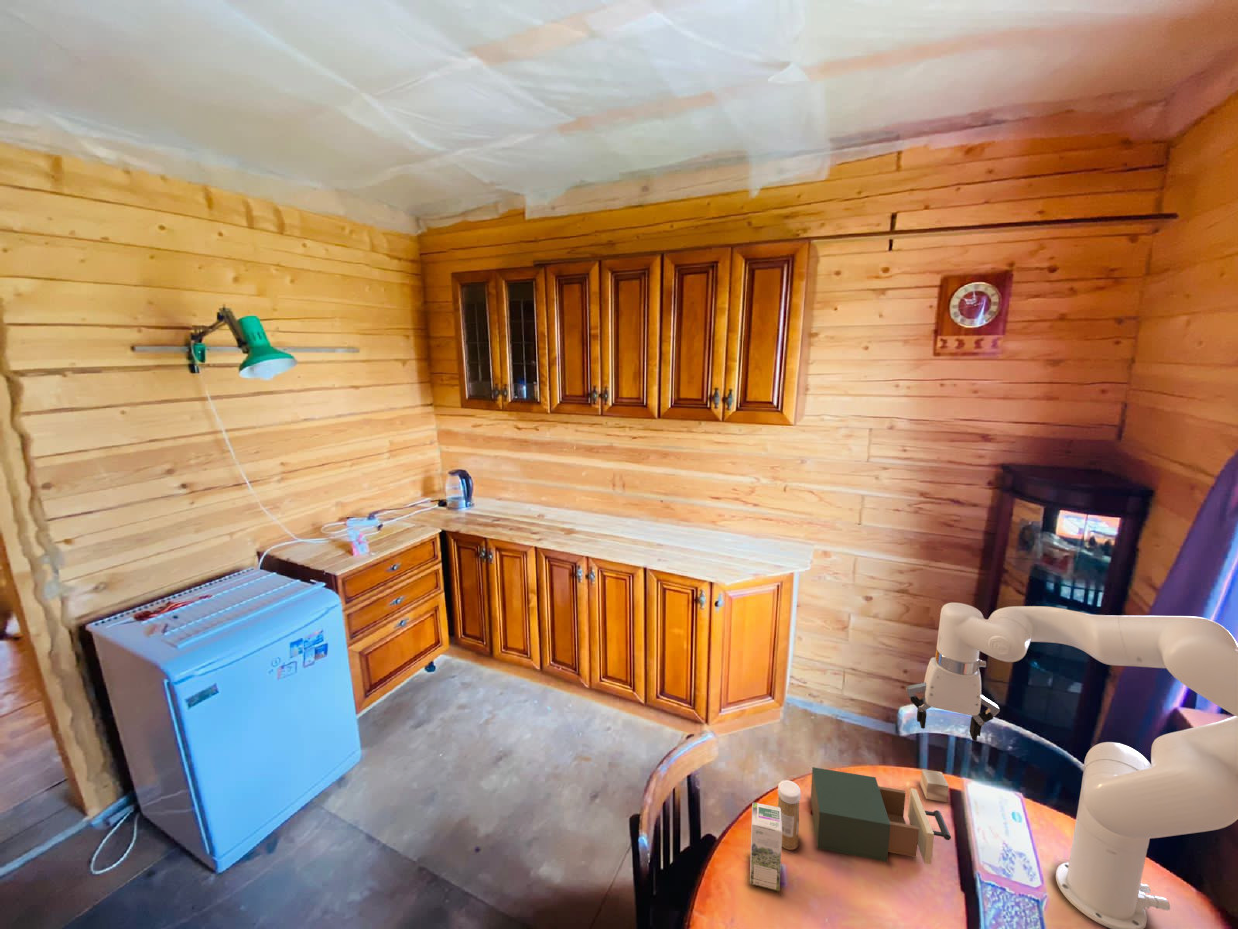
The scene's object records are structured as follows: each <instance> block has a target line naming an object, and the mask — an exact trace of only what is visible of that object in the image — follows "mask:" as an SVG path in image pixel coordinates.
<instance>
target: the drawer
mask: <svg viewBox="0 0 1238 929" xmlns="http://www.w3.org/2000/svg"><path fill="white" fill-rule="evenodd" d="M878 787H879V790H880V793H881V796H882V800H883V803H884V806H885V809H886V812H887V816H888V819H889V822H890V835H889V847H888V853H892V854H897V855H902V856H908V857H913V858H917V854H918V853H917V852H918V849H919V852H920V855H921V857H922V860H923V863H924V864H927V865H931V863H932V856H933V847H934V840H935V839H934V837H935V836H936V837H942V838H943V839H944V840H946V841H950V840H951V839H952V836H951V834H950V832H949V829H948V827H947V824H946V822H945V820H944V817H943V815H942V813H941V811H940V810H934V811H930V810H926V809H925V808H924V805H923V803H922V801H921V798H920V796H919V793H918V790H917V789H916V788H910V789H909V798H908V808H907V818H908V821H909V824H907V823H906V820H905V817H904V815H905V804H906V791H905V790H904V789H897V788H892V787H885V786H880V785H878ZM928 816H929V817H930V816H931V817H934V819H935V821H936V823H937V826H938V829H939V831H937V830H933V828H932V826H931V823H930V821H929V818H928Z"/></svg>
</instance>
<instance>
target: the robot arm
mask: <svg viewBox="0 0 1238 929" xmlns="http://www.w3.org/2000/svg"><path fill="white" fill-rule="evenodd" d="M936 642H937V643H936V649H935V657H934V656H933V657H931V658H930V659H929V662H928V665H927V668H926V671H925V676H924V680H923V682H921V683H915V684H910V685H906V686H905V692H906V693H907V695H908V698H909V699H910V702H911V703H912V704H913V705H914V706H915V707H916V709H917V710H916V721H917V722H918V723H919V726H920V728H921V730H923V729H926V724H927V710H928V709H930V708H931V707H932V708H935V709H939V710H943V711H948V712H953V713H957V714H962V715H966V716H971V718H970V724H969V734H970V738H971V740H972V741H973V742H977V741H978V737H981V734H982V733H981V732H982V727H983V726H984V725H985V724H986V723H988V722H989V721H992V720H993V719H994V717H996V716H997V715H998V714H999V713H1000V711H1001V710H1000V707H999V705H998V704H996V703H995V702H993V701H992V700H990V699H988V698H987V697H985V696H984V695H983V694H982V677H981V672H980V668H986V667H987V661H986V660H982V659H981V658H980V652H981V653H983V654H985V655H987V656H989V657H992V659H996V660H998V661H1002V662H1004V663H1005V662H1006V663H1015V662H1019V661H1020V660H1022V659H1023V658H1024V657H1025V656H1026V654H1027V651H1028V649H1029V646H1030V645H1031V643H1051V644H1052V643H1054V644H1060V645H1061V644H1062V645H1065V646H1066V645H1067V646H1069V647H1070V646H1071V647H1074V648H1076V649H1078V650H1081V651H1083V652H1085V653H1086V654H1087V655H1089V656H1091V657H1092V658H1093V659H1095V660H1096V661H1098V662H1099V663H1102V664H1105V665H1107V666H1108V665H1109V666H1119V667H1120V666H1122V667H1140V668H1154V669H1155V668H1156V669H1166V670H1167V671H1168V672H1169V674H1171V675H1172V677H1173V678H1174V679H1176V680H1177V681H1179V682H1180V683H1181V684H1183V685H1184V686H1185V687H1187V688H1188V689H1190V690H1191V691H1193V692H1195V693H1196V694H1197V695H1199V696H1201V697H1203V698H1204V699H1206V700H1208V701H1209V702H1211V703H1213V704H1214V705H1216V706H1218V707H1219V708H1221V709H1223V710H1225V711H1227V712H1228V713H1230V714H1231V715H1233V716H1231V717H1228V718H1225V719H1221V720H1219V721H1216V722H1212V723H1207V724H1203V725H1198V726H1195V727H1190V728H1186V729H1182V730H1177V731H1173V732H1169V733H1165V734H1162V735H1159V736H1158V737H1156V738H1155V739H1154V740H1153V742H1152V744H1151V750H1150V761H1149V760H1148V759H1147V758H1146V757H1145V756H1144V755H1143V754H1141V753H1140V752H1139V751H1137V750H1136V749H1134V748H1132V747H1130V746H1128V745H1126V744H1123V743H1121V742H1113V741H1105V742H1104V741H1103V742H1100V743H1097V744H1095V745H1093V746H1092V747H1091V748H1090V749H1089V750H1088V752H1087V753H1086V756H1085V758H1084V763H1083V773H1082V779H1081V788H1080V793H1079V800H1078V805H1077V811H1076V817H1075V823H1074V829H1073V834H1072V835H1073V837H1072V842H1071V849H1070V853H1069V854H1070V855H1069V860H1068V861H1066V862H1063V863H1060V864H1059V865H1058V866H1057V868H1056V871H1055V881H1056V884H1057V886H1058V888H1059V890H1060V892H1061V893H1062V894H1063V896H1064V897H1065V898H1066V899H1067V900H1068V901H1069V903H1070V904H1071V905H1072V906H1074V907H1075V908H1076V909H1077V910H1078V911H1079V912H1081V913H1082V914H1083V915H1085V916H1086V917H1088V918H1089V919H1091V920H1092V921H1094V922H1096V923H1097V924H1099V925H1101V926H1104V927H1106V928H1108V929H1145V928H1146V926H1147V922H1148V921H1147V920H1148V916H1147V912H1146V910H1145V909H1150V907H1152V908H1155V909H1158V910H1162V911H1168V912H1169V911H1171V905H1170V902H1169V901H1168V899H1167V898H1166V897H1164V896H1159V895H1155V894H1151V888H1150V886H1149V885H1148V884H1146V883H1142V878H1143V874H1144V869H1145V864H1146V859H1147V854H1148V849H1149V845H1150V839H1159V838H1167V837H1173V836H1174V837H1176V836H1181V835H1189V834H1196V833H1205V832H1210V831H1216V830H1221V829H1225V828H1226V827H1229V826H1231V825H1232V824H1234V823H1235V822H1236V821H1237V820H1238V642H1237V641H1236V639H1235V637H1234V636H1233V635H1232V633H1230V631H1229V630H1228V629H1226V627H1225V626H1223V625H1222V624H1220V623H1219V622H1217V621H1214V620H1211V619H1209V618H1206V617H1201V616H1191V615H1109V614H1108V615H1105V614H1090V613H1086V612H1082V611H1076V610H1072V609H1066V608H1061V607H1055V606H1038V605H1037V606H1036V605H1032V606H1031V605H1029V606H1028V605H1027V606H1025V605H1023V606H1022V605H1020V606H1019V605H1018V606H1016V605H1015V606H1013V605H1012V606H1006V607H1005V606H1004V607H1001V608H998V609H996V610H993V612H992V613H991V614H990V616H989V617H988V619H986V618H985V617H984V615H983V613H982V611H980V610H979V609H978V608H976V607H975V606H972V605H969V604H966V603H962V602H947V603H945V604H944V605H942V607H941V610H940V616H939V625H938V633H937V640H936ZM917 693H922V694H923V696H922V697H920V698H919V697H918V696H917V695H916V694H917ZM982 705H983V706H984V707H986V708H987V709H986V710H983V711H981V706H982ZM1150 894H1151V895H1150Z"/></svg>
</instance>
